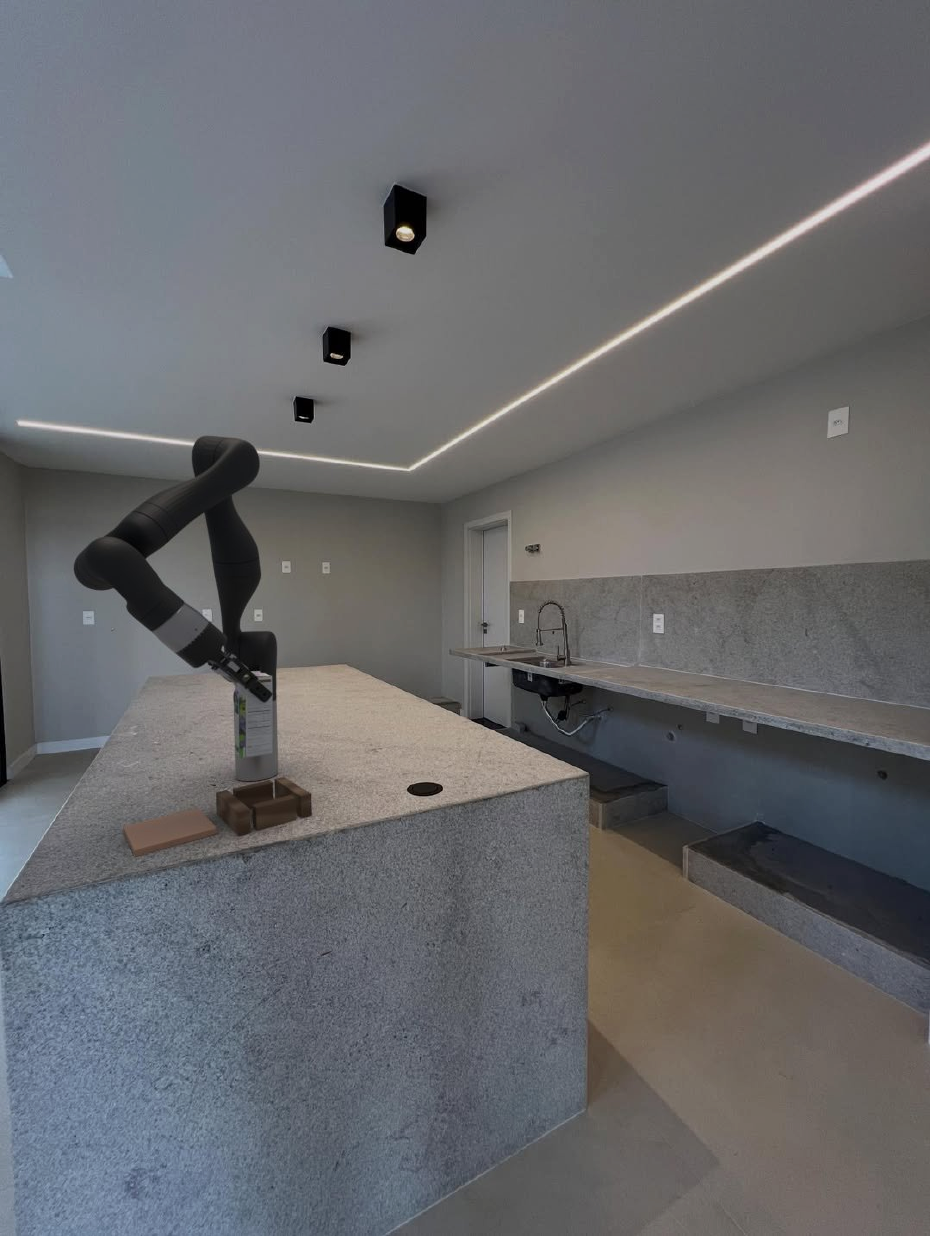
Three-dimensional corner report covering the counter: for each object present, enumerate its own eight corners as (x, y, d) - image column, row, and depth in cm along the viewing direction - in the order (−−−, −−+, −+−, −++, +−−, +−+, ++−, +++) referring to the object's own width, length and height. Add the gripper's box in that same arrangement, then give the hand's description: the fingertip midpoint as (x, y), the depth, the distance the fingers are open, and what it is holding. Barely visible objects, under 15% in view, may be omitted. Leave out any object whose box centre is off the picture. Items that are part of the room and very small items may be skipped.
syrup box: (234, 751, 96) (232, 673, 96) (267, 746, 99) (265, 671, 99) (240, 759, 91) (238, 677, 91) (274, 753, 95) (273, 674, 94)
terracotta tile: (123, 831, 90) (122, 826, 90) (198, 813, 98) (198, 807, 98) (134, 856, 81) (134, 850, 81) (217, 833, 89) (216, 827, 89)
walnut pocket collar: (216, 813, 98) (216, 792, 97) (284, 796, 106) (284, 776, 106) (238, 836, 88) (238, 812, 88) (311, 814, 96) (311, 793, 96)
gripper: (216, 619, 85) (290, 684, 92) (198, 618, 96) (265, 676, 103) (180, 654, 81) (260, 718, 89) (166, 649, 93) (237, 706, 100)
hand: (262, 696), depth 96 cm, fingers closed on syrup box, 6 cm apart
